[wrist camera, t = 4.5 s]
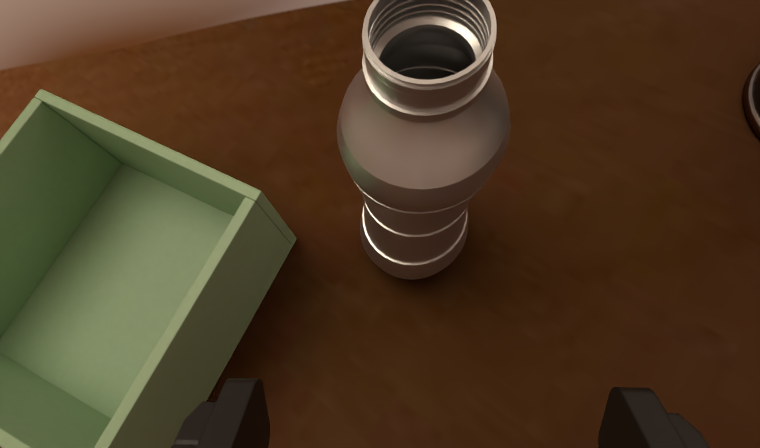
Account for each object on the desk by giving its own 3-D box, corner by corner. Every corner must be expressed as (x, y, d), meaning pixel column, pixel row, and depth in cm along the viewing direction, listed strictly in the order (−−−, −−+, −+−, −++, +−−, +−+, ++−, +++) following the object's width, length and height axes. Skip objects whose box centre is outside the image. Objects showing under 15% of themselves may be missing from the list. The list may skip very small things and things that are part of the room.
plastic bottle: (342, 239, 32) (255, 35, 13) (413, 171, 33) (427, -104, 14) (412, 308, 31) (429, 189, 12) (484, 234, 32) (605, 18, 13)
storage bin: (125, 156, 35) (40, 88, 27) (297, 238, 32) (261, 190, 24) (-12, 353, 31) (-161, 344, 23) (171, 463, 29) (78, 497, 20)
